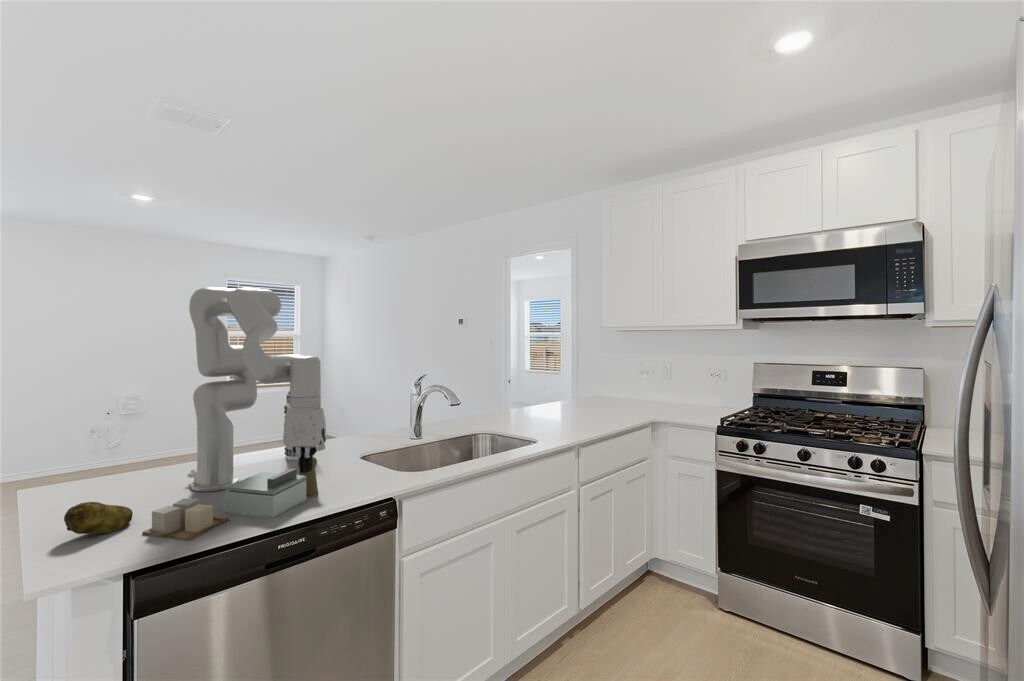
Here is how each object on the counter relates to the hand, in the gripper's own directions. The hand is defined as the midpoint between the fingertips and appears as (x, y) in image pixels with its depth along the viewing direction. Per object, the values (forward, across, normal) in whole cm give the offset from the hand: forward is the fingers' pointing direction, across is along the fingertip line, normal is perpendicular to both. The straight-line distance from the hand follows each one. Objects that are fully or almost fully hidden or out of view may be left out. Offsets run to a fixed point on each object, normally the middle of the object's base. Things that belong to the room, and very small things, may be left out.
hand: (305, 471), depth 133 cm
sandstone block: (+10, -17, -17) cm, 26 cm away
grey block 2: (+10, -24, -14) cm, 29 cm away
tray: (+10, -20, -17) cm, 28 cm away
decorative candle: (+10, -36, +48) cm, 61 cm away
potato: (+10, -38, -24) cm, 46 cm away
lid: (+4, -12, 0) cm, 12 cm away
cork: (+11, -8, +12) cm, 18 cm away
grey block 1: (+10, -24, -20) cm, 32 cm away
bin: (+10, -12, 0) cm, 16 cm away
